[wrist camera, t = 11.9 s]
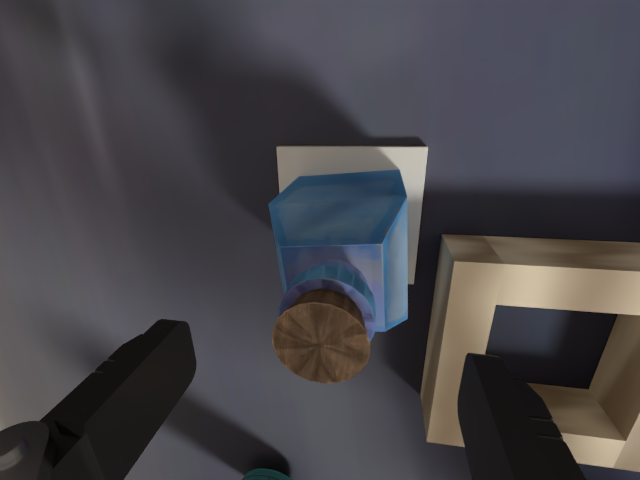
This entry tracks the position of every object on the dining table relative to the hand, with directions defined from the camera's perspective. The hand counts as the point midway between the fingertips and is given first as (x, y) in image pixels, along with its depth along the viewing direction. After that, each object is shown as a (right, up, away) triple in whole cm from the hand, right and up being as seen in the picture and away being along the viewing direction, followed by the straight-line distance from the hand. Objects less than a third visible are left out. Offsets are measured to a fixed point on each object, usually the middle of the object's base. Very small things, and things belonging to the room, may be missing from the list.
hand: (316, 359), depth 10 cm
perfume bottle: (+2, +5, +12) cm, 13 cm away
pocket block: (+15, -3, +13) cm, 20 cm away
